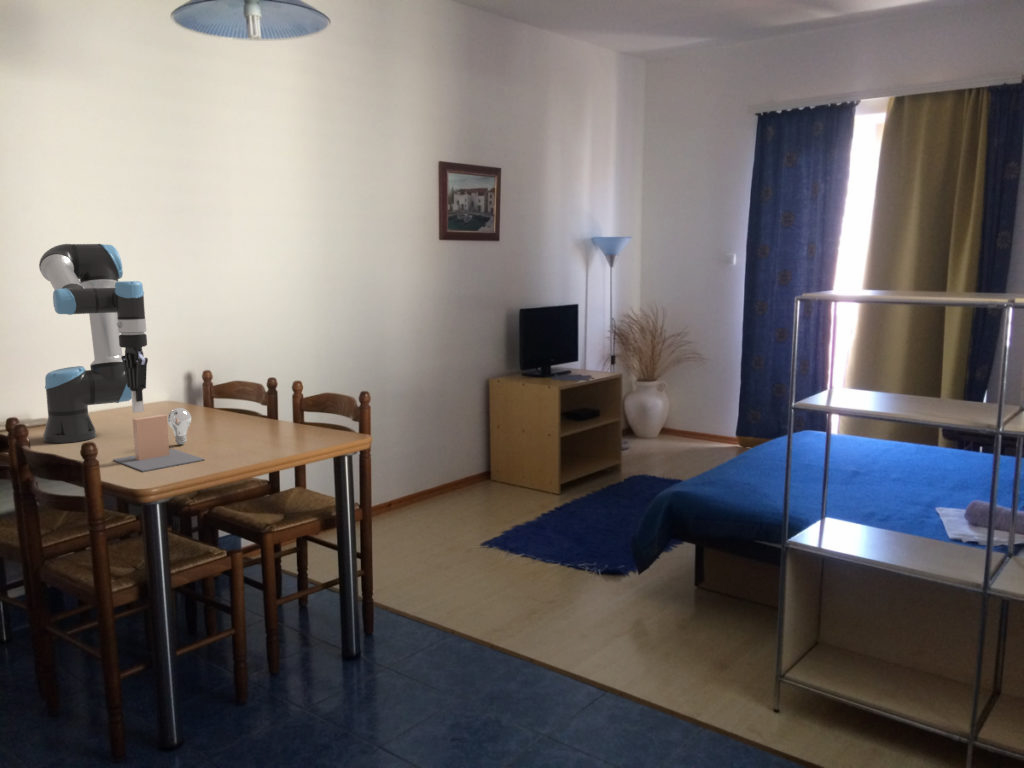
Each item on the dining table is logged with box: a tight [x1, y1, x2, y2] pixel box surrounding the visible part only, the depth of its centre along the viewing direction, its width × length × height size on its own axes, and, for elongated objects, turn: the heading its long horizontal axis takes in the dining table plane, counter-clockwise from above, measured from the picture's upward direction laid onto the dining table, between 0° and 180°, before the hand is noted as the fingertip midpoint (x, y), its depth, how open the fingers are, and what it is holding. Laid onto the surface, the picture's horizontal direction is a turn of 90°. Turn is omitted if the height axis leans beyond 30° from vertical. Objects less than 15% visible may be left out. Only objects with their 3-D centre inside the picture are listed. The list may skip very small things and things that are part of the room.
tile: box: [132, 414, 170, 460], centre depth 243 cm, size 2×9×12 cm, turn 138°
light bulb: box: [167, 407, 192, 446], centre depth 260 cm, size 7×7×12 cm
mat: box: [113, 448, 205, 473], centre depth 241 cm, size 20×18×1 cm
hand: (138, 411), depth 247 cm, fingers closed
